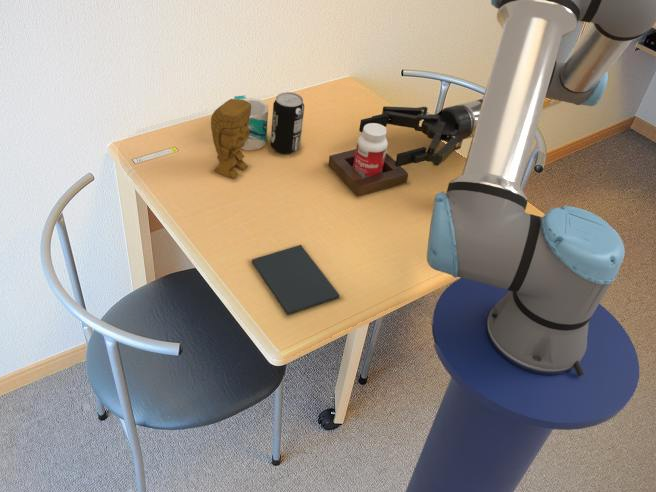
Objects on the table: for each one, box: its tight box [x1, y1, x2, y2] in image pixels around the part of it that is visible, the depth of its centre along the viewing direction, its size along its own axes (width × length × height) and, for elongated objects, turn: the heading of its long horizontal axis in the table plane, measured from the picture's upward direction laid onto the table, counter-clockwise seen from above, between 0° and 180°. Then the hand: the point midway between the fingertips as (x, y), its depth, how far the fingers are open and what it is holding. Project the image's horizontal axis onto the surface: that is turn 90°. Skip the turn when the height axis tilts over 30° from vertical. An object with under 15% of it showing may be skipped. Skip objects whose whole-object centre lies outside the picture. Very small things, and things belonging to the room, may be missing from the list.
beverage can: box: [270, 91, 305, 155], centre depth 141 cm, size 7×7×12 cm
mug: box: [233, 94, 269, 151], centre depth 145 cm, size 8×12×8 cm
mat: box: [251, 244, 340, 316], centre depth 115 cm, size 14×10×1 cm
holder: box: [327, 148, 409, 197], centre depth 138 cm, size 12×12×2 cm
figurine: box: [210, 98, 251, 180], centre depth 134 cm, size 7×7×15 cm
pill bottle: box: [352, 123, 389, 178], centre depth 135 cm, size 6×6×11 cm
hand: (378, 142), depth 134 cm, fingers open, 13 cm apart
